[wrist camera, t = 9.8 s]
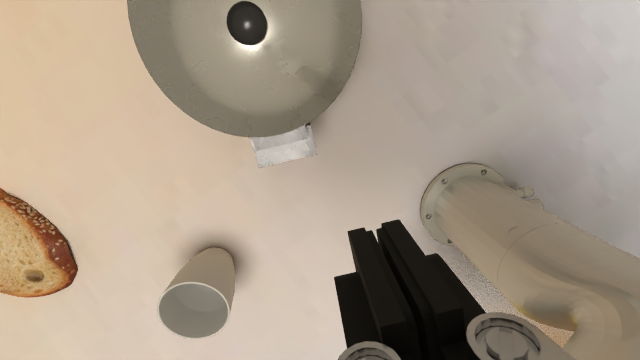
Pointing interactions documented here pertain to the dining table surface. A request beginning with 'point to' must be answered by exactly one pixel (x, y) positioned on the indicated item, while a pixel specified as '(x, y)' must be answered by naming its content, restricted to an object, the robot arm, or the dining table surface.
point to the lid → (249, 60)
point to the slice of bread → (31, 252)
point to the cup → (199, 296)
